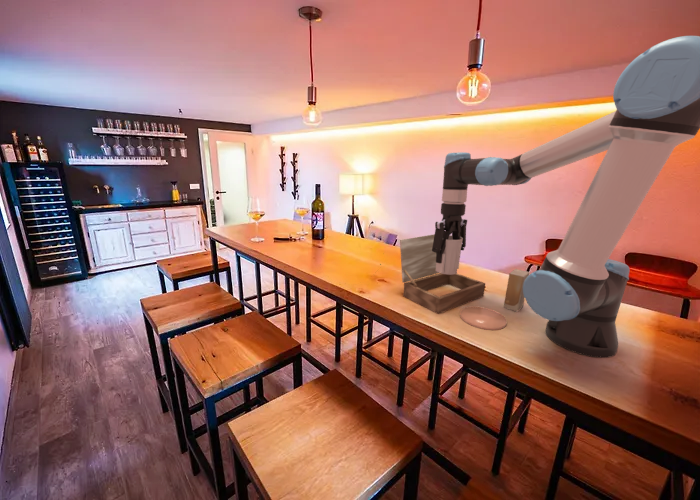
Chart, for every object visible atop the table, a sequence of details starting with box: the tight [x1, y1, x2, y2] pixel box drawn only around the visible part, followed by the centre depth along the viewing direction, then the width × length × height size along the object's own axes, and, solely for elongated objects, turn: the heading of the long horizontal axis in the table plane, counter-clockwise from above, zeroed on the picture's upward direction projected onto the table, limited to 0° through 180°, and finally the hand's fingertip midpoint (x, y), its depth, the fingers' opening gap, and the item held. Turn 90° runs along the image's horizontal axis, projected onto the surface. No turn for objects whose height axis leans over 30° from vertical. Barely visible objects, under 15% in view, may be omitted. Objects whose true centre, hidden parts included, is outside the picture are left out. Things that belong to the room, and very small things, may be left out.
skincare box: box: [503, 268, 530, 313], centre depth 95 cm, size 6×4×12 cm
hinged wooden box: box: [399, 233, 486, 315], centre depth 103 cm, size 19×24×20 cm
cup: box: [438, 234, 463, 275], centre depth 99 cm, size 8×8×12 cm
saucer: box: [459, 305, 508, 331], centre depth 89 cm, size 13×13×1 cm
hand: (447, 269), depth 101 cm, fingers closed on cup, 7 cm apart
